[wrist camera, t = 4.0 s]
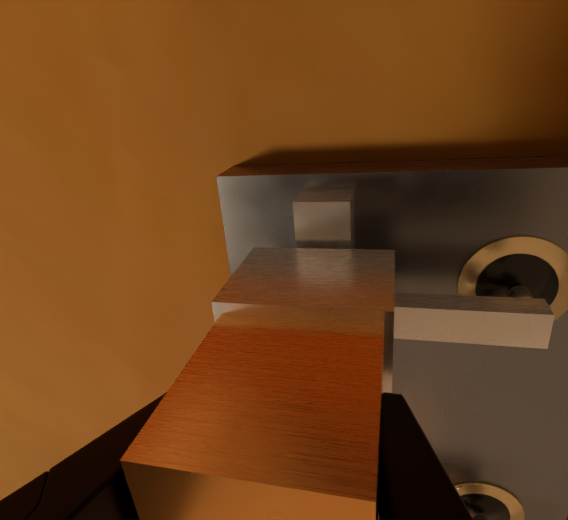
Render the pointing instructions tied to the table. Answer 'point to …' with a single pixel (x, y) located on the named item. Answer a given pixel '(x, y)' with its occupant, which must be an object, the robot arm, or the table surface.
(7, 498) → the robot arm
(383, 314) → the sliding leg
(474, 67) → the table surface
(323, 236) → the bolt plate
